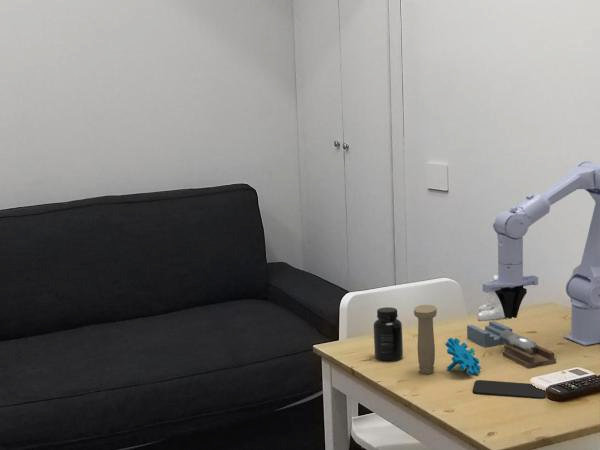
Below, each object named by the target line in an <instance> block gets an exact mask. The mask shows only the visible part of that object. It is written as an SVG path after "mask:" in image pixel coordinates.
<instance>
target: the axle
mask: <svg viewBox="0 0 600 450" xmlns="http://www.w3.org/2000/svg"><path fill="white" fill-rule="evenodd" d="M499 339H500V342H501V343H503V344H502V345H510V346H512V347H515V348H517V349H519V350H521V351H523V352H525V353H527V354H530V355H533V354H535V352H536V351H537V345H538V344H537V343H536V341H533V340H532V339H529V338H527V337H524V336H523V335H520V334H517V333H516V332H514V331H512V332H511V331H509V330H504V331H502V332H501V334H500V337H499Z"/></svg>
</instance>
